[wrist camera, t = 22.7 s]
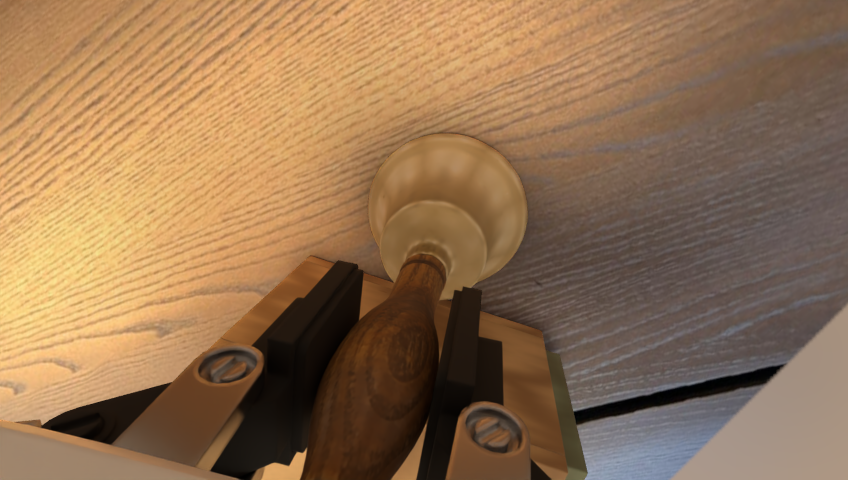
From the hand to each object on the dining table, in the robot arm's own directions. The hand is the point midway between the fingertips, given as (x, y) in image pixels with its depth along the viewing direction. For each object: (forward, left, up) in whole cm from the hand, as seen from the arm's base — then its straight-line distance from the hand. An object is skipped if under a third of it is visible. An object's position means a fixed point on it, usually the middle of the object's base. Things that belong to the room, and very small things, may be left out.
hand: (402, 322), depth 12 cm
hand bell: (0, 0, -11) cm, 11 cm away
